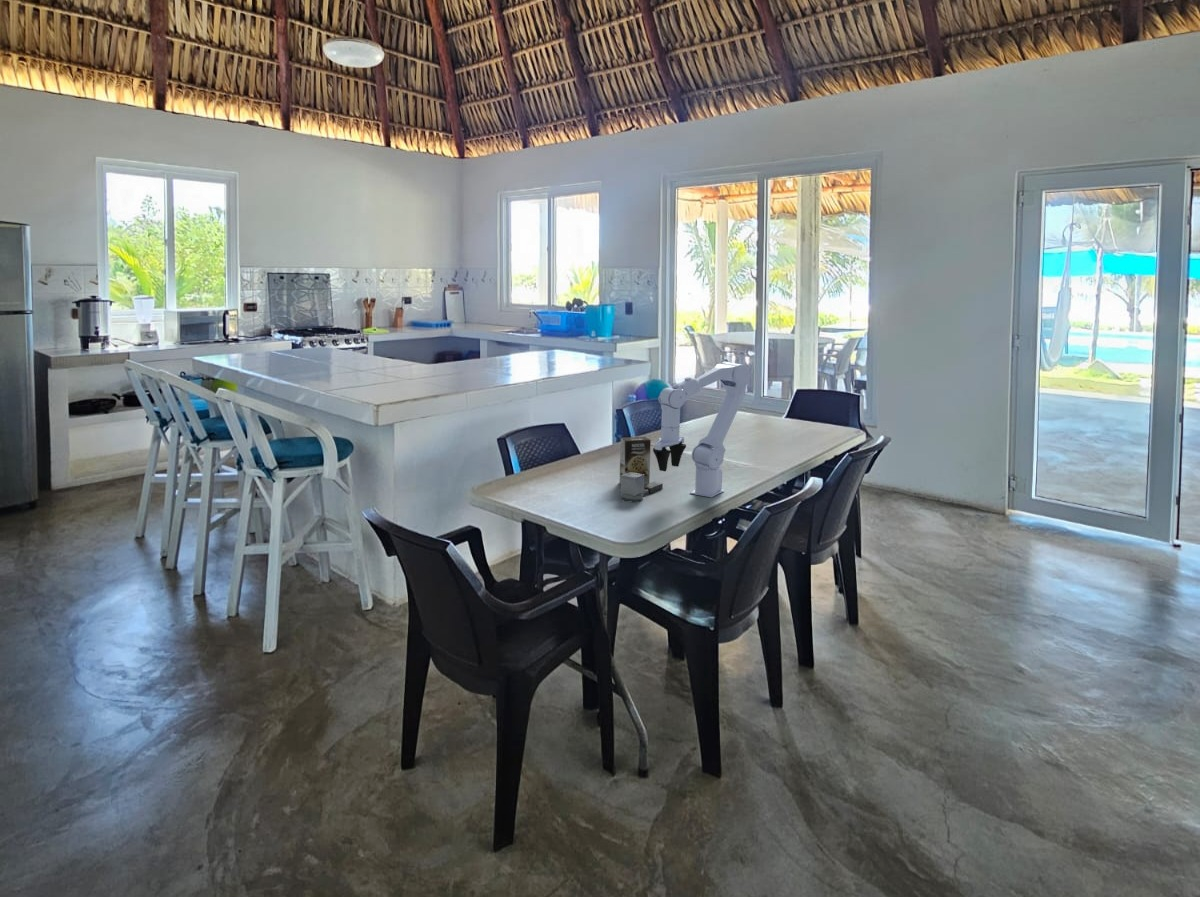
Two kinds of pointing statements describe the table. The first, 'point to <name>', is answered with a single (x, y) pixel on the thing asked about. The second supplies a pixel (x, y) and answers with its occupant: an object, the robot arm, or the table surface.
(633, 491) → the grey brushed cube
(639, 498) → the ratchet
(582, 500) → the table surface
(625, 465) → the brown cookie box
